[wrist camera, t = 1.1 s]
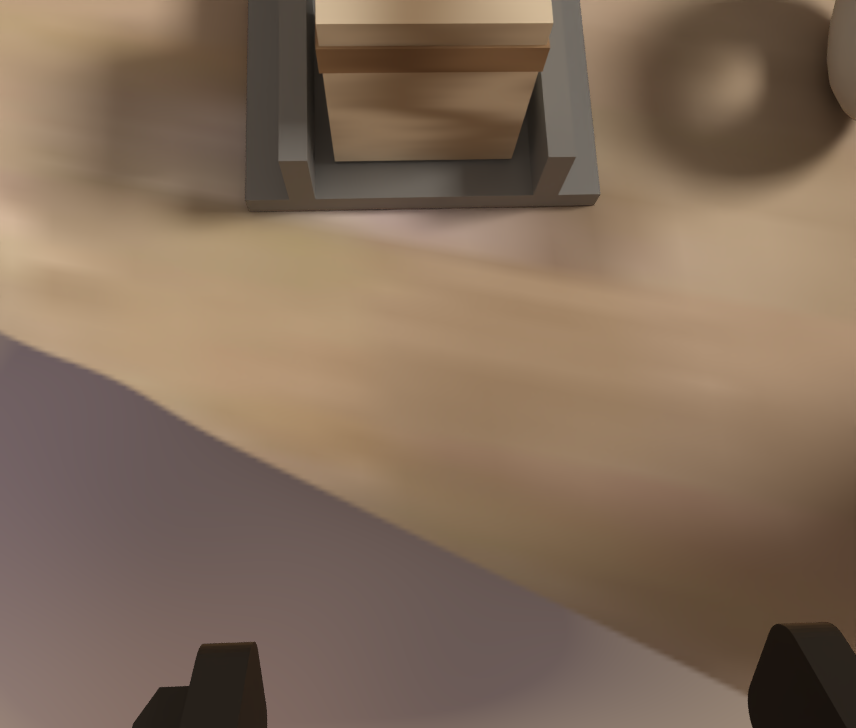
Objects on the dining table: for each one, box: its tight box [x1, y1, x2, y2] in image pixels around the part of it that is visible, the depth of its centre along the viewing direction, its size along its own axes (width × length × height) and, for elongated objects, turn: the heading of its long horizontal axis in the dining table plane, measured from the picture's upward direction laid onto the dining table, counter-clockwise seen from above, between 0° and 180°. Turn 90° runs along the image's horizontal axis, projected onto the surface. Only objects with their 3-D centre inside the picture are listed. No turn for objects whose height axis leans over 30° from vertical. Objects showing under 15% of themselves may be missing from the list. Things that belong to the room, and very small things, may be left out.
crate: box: [315, 0, 553, 161], centre depth 27 cm, size 7×7×8 cm
